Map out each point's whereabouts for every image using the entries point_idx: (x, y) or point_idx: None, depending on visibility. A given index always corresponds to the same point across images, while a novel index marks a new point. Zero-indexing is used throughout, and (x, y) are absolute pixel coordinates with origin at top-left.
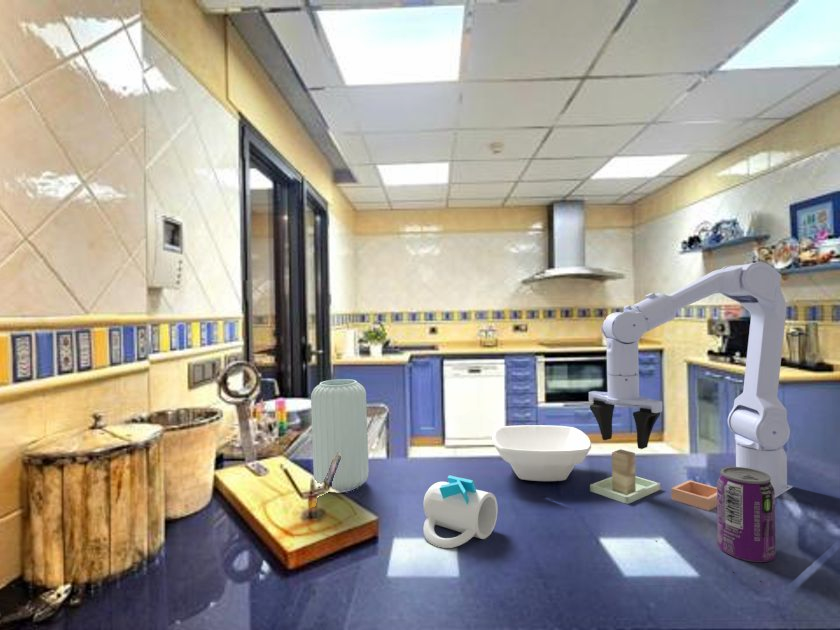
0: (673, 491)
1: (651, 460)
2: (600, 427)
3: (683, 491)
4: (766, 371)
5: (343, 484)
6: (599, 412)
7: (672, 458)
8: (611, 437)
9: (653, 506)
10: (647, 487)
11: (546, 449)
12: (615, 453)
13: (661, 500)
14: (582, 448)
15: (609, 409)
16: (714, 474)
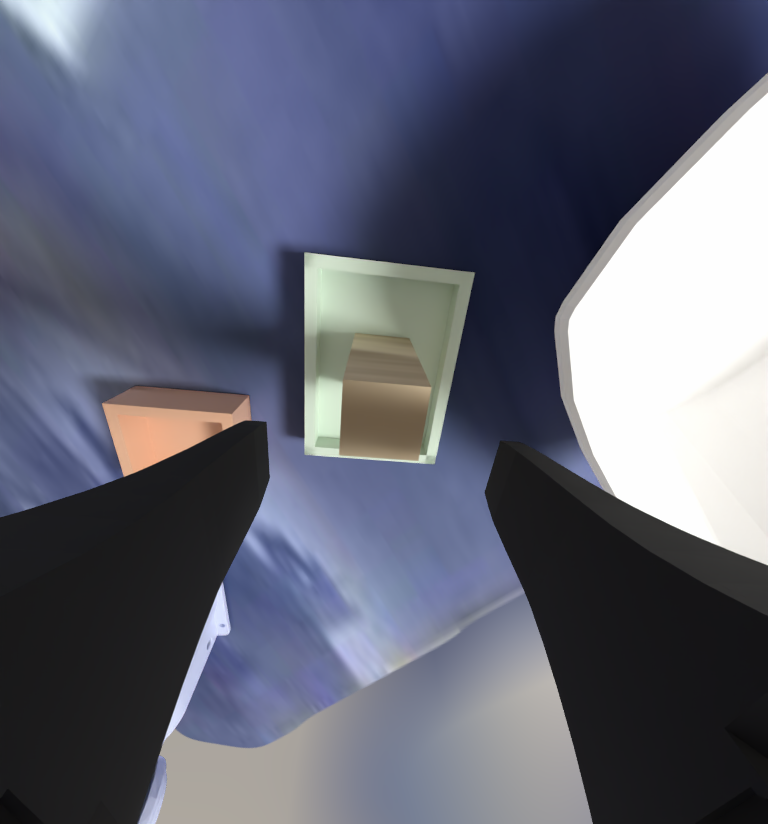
0: (227, 409)
1: (435, 606)
2: (577, 481)
3: (190, 414)
4: None
5: None
6: (720, 590)
7: (403, 638)
8: (486, 497)
9: (263, 327)
10: (310, 396)
11: (750, 441)
12: (408, 384)
13: (275, 389)
14: (609, 430)
15: (613, 725)
16: (288, 610)
